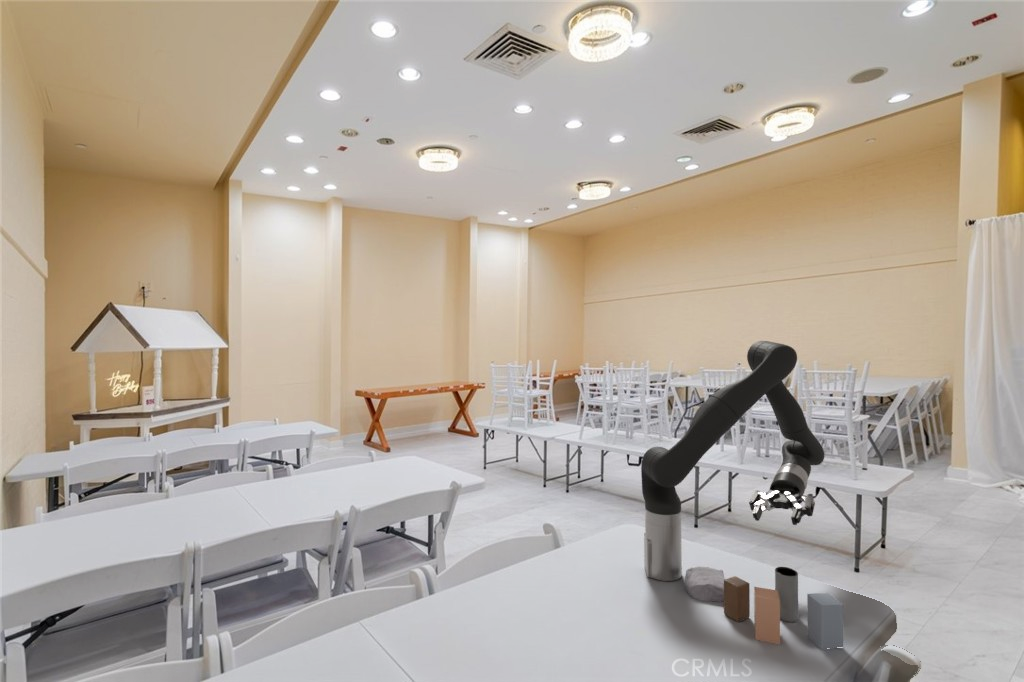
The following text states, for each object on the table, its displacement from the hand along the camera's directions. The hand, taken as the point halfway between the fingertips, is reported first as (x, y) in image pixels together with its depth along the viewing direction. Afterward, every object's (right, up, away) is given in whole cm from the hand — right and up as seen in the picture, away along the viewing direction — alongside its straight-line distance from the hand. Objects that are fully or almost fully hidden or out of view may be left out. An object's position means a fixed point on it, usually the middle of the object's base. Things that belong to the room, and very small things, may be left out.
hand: (774, 519), depth 122 cm
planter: (-2, -19, -9) cm, 21 cm away
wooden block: (-13, -19, -9) cm, 25 cm away
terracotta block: (-10, -19, -16) cm, 27 cm away
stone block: (-15, -19, +4) cm, 25 cm away
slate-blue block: (+1, -19, -19) cm, 26 cm away
